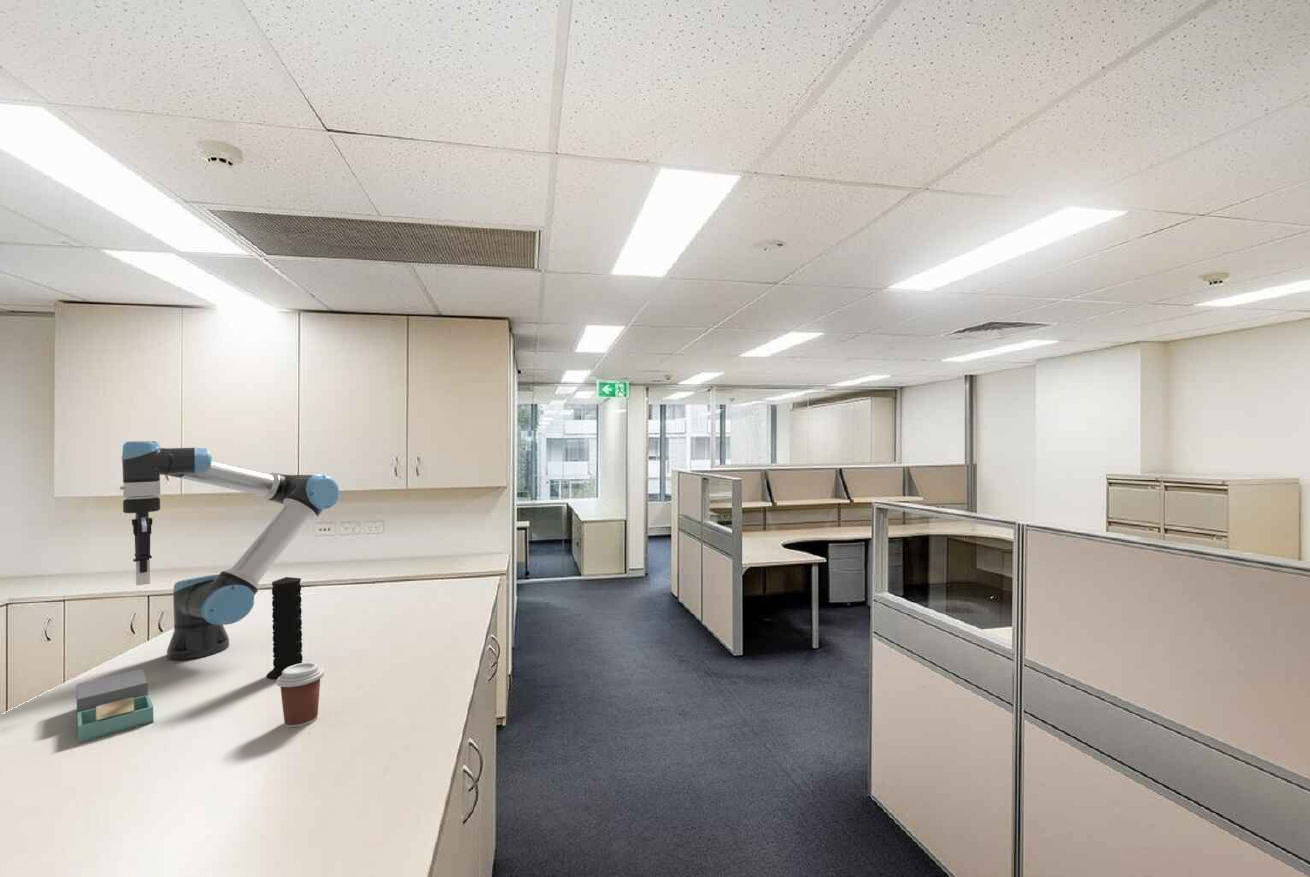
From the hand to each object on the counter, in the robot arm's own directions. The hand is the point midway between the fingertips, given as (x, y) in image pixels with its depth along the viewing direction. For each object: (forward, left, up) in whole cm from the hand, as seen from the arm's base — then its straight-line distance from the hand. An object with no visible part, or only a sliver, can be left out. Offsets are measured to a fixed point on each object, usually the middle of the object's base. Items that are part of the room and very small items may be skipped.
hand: (143, 584), depth 154 cm
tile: (+7, +30, -22) cm, 38 cm away
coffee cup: (-22, +60, -27) cm, 69 cm away
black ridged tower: (-28, +24, -27) cm, 45 cm away
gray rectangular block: (+7, +16, -26) cm, 32 cm away
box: (+7, +29, -26) cm, 40 cm away
